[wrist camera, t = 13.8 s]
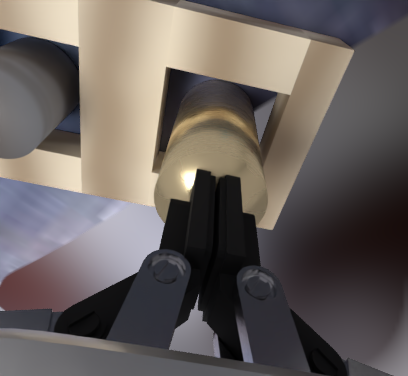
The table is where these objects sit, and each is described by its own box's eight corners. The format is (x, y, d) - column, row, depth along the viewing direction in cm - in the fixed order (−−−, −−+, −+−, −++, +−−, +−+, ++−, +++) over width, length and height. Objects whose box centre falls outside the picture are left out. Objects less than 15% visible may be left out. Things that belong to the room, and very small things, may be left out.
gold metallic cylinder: (263, 89, 18) (284, 167, 11) (242, 156, 20) (249, 251, 14) (185, 71, 18) (161, 140, 11) (173, 142, 20) (148, 231, 14)
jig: (338, 38, 16) (376, 66, 12) (268, 205, 23) (277, 260, 19) (-81, -65, 15) (-198, -72, 11) (-29, 145, 21) (-89, 191, 17)
